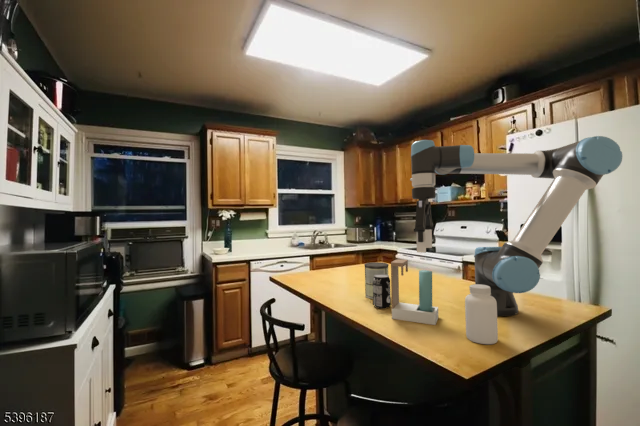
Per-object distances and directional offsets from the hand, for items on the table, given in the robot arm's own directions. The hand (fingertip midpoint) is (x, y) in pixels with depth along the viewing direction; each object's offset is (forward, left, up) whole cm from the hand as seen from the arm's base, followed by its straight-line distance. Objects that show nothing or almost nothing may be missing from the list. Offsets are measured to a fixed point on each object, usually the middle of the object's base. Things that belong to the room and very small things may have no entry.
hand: (424, 250), depth 102 cm
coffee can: (+24, -21, -24) cm, 39 cm away
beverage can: (+18, -8, -24) cm, 31 cm away
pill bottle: (-16, +10, -24) cm, 30 cm away
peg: (0, 0, -23) cm, 23 cm away
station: (+4, 0, -23) cm, 24 cm away
